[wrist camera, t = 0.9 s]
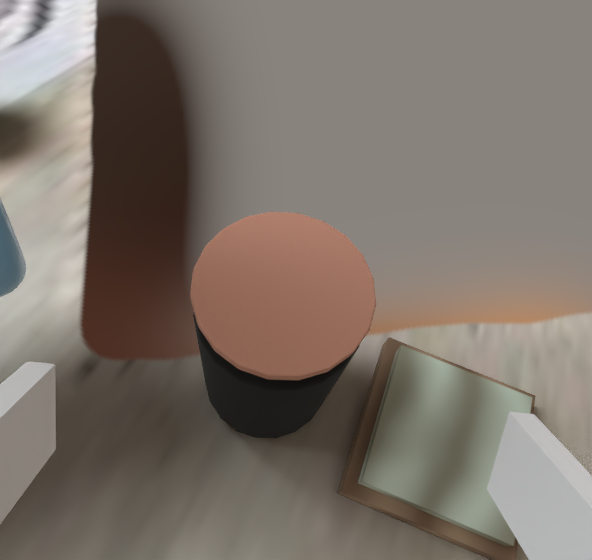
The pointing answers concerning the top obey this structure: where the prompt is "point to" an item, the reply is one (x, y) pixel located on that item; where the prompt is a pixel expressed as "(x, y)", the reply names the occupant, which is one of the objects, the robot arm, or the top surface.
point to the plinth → (433, 448)
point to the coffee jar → (278, 318)
